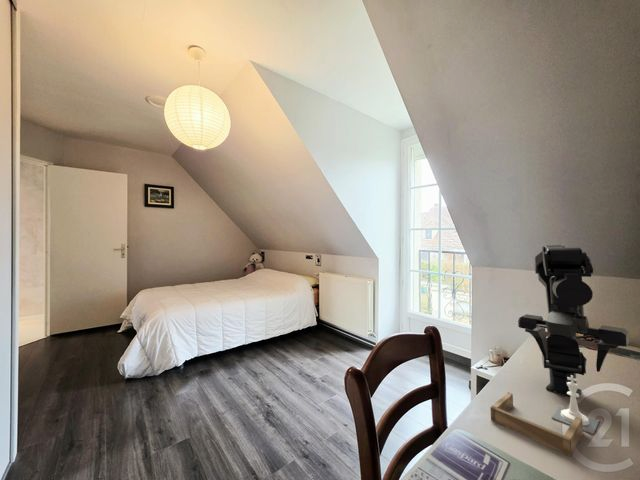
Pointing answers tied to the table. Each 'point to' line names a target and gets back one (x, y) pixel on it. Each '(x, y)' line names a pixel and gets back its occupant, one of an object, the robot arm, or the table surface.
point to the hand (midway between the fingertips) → (570, 364)
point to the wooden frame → (536, 427)
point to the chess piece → (573, 404)
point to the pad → (557, 416)
